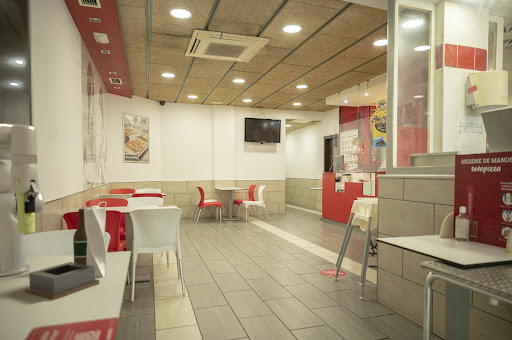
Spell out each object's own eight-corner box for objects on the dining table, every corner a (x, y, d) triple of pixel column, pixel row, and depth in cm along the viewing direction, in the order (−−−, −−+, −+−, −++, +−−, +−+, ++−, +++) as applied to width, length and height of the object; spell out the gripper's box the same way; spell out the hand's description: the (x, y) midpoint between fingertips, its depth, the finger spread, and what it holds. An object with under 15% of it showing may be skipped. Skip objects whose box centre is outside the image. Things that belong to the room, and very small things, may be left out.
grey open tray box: (24, 292, 110) (24, 273, 110) (71, 277, 124) (71, 260, 124) (53, 300, 102) (52, 280, 102) (99, 283, 117) (98, 266, 116)
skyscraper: (110, 271, 131) (108, 200, 130) (106, 277, 123) (104, 202, 123) (88, 273, 129) (86, 201, 128) (83, 279, 121) (81, 203, 121)
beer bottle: (75, 264, 142) (73, 208, 141) (95, 262, 145) (93, 207, 144) (73, 269, 134) (71, 210, 134) (94, 266, 138) (92, 209, 137)
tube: (35, 233, 116) (33, 177, 115) (17, 235, 113) (15, 178, 113) (35, 230, 120) (33, 177, 120) (18, 232, 118) (16, 177, 117)
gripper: (-1, 161, 117) (1, 212, 117) (25, 160, 109) (27, 215, 109) (23, 161, 124) (24, 209, 124) (49, 160, 116) (50, 212, 116)
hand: (25, 212), depth 117 cm, fingers closed on tube, 4 cm apart
